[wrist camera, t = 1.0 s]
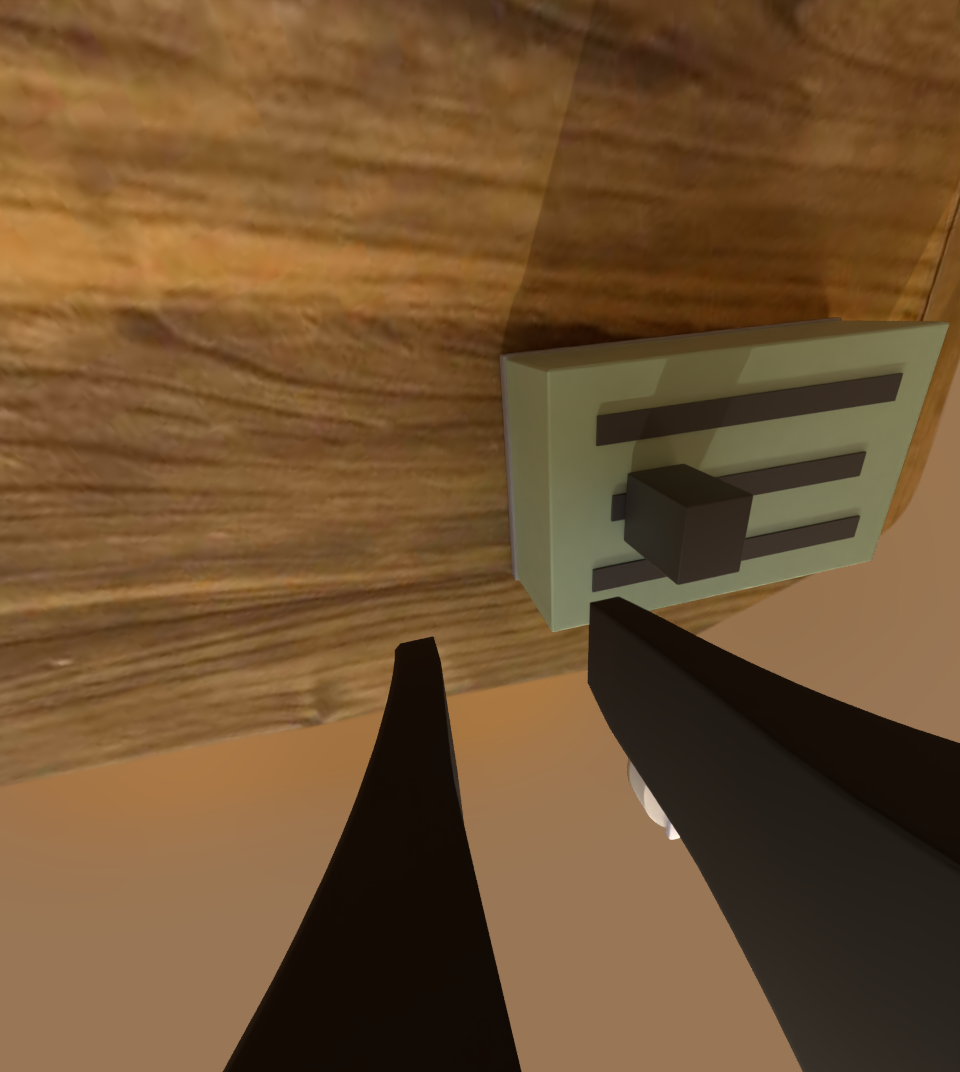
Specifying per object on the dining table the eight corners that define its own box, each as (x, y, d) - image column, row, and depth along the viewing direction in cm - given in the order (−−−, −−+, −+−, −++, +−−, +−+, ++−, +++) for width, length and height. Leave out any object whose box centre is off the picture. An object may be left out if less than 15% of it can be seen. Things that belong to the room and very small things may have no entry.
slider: (676, 530, 16) (739, 572, 13) (622, 541, 16) (677, 586, 13) (684, 462, 15) (754, 494, 12) (626, 472, 15) (687, 506, 12)
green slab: (785, 521, 23) (876, 564, 19) (512, 575, 21) (550, 638, 17) (831, 317, 19) (958, 317, 15) (499, 354, 17) (545, 366, 13)
